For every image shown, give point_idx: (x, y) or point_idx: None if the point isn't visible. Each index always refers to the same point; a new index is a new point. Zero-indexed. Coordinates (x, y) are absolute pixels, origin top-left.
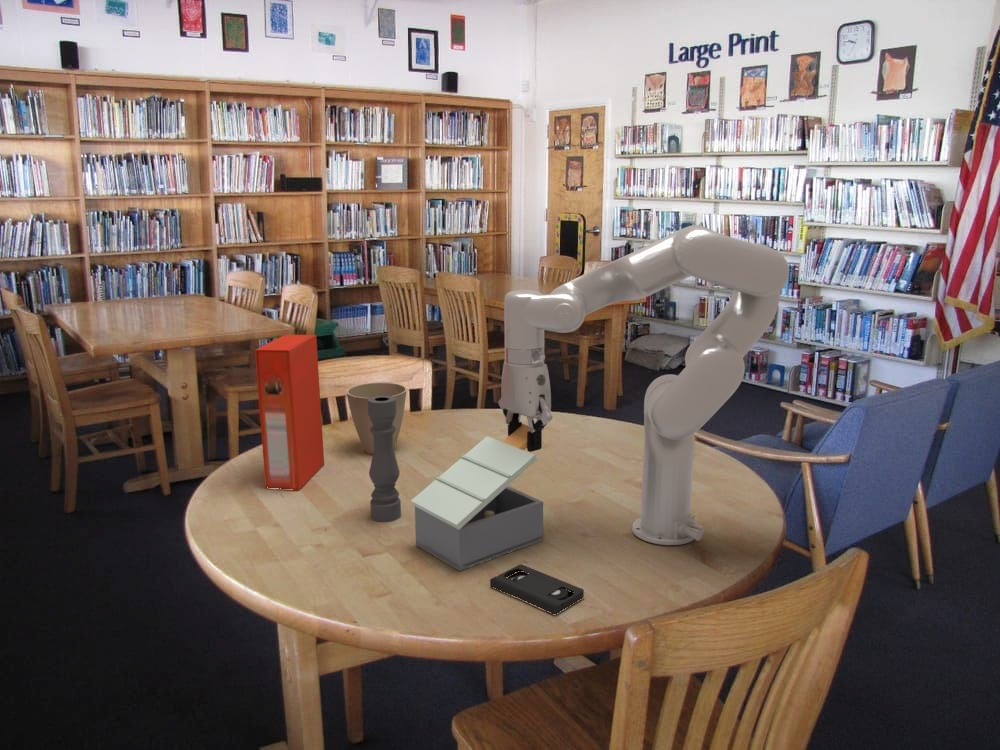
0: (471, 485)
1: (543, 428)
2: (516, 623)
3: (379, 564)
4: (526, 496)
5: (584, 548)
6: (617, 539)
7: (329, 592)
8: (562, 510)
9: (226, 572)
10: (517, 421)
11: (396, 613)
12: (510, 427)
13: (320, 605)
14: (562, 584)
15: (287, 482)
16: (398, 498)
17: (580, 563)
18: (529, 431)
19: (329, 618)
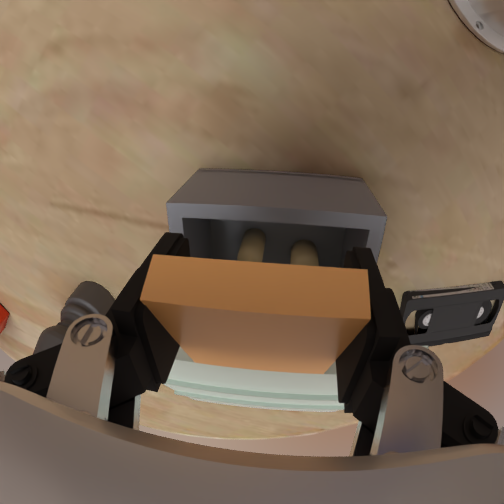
0: (282, 401)
1: (435, 362)
2: (454, 360)
3: None
4: (322, 221)
5: (444, 148)
6: (463, 69)
7: (259, 422)
8: (266, 17)
9: (169, 431)
10: (133, 358)
11: (341, 412)
12: (164, 379)
13: (275, 431)
14: (481, 297)
15: (2, 324)
16: (84, 303)
17: (466, 205)
18: (351, 404)
19: (300, 435)
